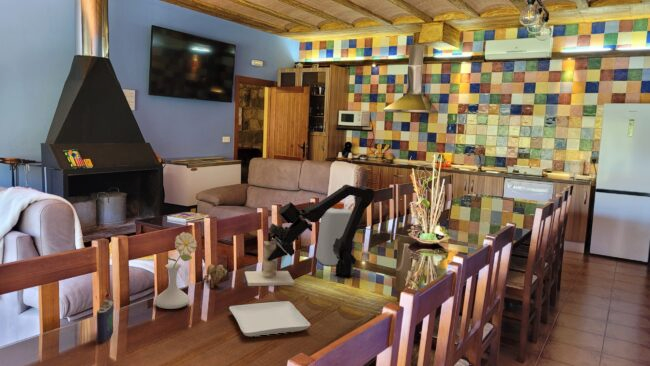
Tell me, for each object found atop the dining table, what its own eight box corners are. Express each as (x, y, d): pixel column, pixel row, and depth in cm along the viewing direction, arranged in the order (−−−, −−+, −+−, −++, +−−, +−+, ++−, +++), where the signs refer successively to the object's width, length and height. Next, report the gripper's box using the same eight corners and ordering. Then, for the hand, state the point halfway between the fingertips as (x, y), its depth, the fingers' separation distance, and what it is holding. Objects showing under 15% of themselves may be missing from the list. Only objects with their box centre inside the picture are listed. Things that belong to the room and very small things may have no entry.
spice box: (273, 272, 197) (274, 241, 195) (276, 275, 193) (277, 244, 191) (262, 272, 195) (263, 241, 194) (264, 276, 191) (266, 244, 189)
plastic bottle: (342, 256, 236) (347, 200, 232) (354, 265, 221) (359, 205, 218) (313, 257, 231) (317, 199, 227) (323, 266, 217) (327, 205, 213)
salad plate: (227, 315, 158) (228, 305, 158) (289, 309, 166) (289, 299, 166) (242, 343, 139) (243, 332, 138) (311, 335, 147) (312, 324, 147)
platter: (287, 273, 203) (287, 270, 203) (294, 284, 190) (294, 282, 190) (244, 274, 199) (244, 271, 199) (248, 285, 185) (248, 282, 185)
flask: (105, 329, 141) (106, 294, 139) (116, 329, 141) (116, 294, 140) (95, 344, 132) (95, 306, 130) (106, 344, 132) (107, 306, 131)
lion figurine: (228, 288, 181) (229, 265, 180) (214, 290, 178) (215, 267, 177) (211, 277, 192) (212, 255, 191) (198, 279, 189) (199, 256, 188)
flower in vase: (156, 314, 154) (158, 237, 151) (151, 301, 164) (153, 229, 161) (198, 309, 160) (200, 235, 157) (190, 297, 170) (193, 227, 167)
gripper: (275, 212, 201) (248, 239, 199) (288, 222, 184) (258, 251, 181) (292, 230, 205) (266, 256, 202) (306, 241, 188) (277, 270, 185)
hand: (266, 258), depth 193 cm, fingers closed on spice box, 5 cm apart
